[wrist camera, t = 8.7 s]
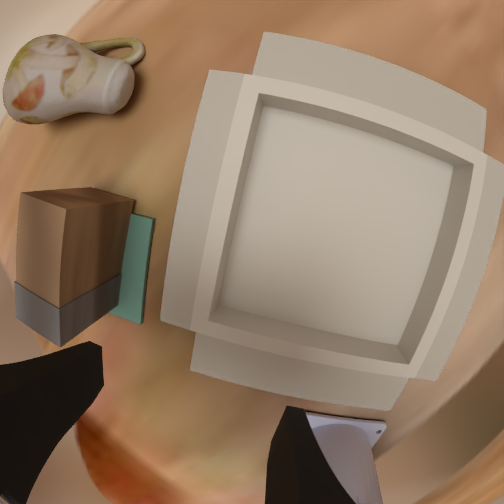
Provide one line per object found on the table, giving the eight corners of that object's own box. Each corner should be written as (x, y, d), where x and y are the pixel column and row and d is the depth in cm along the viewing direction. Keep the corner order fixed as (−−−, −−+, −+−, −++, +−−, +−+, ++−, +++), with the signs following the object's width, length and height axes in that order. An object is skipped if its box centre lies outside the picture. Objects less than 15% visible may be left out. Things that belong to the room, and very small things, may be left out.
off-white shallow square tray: (405, 389, 20) (416, 412, 17) (171, 338, 21) (156, 358, 18) (487, 130, 15) (511, 125, 12) (232, 48, 16) (223, 27, 13)
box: (135, 200, 19) (66, 210, 12) (118, 305, 21) (60, 347, 14) (89, 187, 19) (18, 192, 12) (77, 285, 21) (16, 317, 14)
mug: (139, 141, 19) (0, 149, 11) (94, 114, 23) (-4, 118, 15) (169, 40, 15) (25, 18, 7) (114, 40, 19) (14, 32, 12)
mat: (142, 322, 21) (140, 324, 21) (65, 291, 22) (62, 292, 21) (155, 218, 19) (152, 219, 19) (70, 198, 20) (67, 198, 19)
